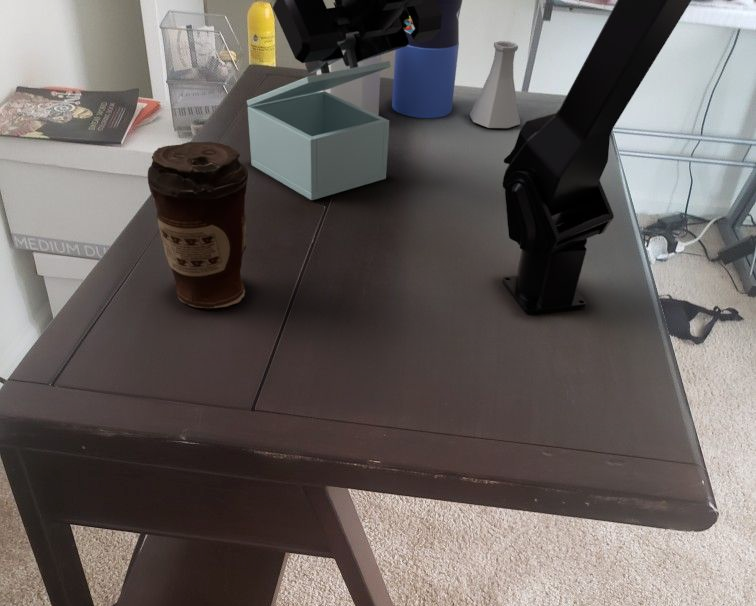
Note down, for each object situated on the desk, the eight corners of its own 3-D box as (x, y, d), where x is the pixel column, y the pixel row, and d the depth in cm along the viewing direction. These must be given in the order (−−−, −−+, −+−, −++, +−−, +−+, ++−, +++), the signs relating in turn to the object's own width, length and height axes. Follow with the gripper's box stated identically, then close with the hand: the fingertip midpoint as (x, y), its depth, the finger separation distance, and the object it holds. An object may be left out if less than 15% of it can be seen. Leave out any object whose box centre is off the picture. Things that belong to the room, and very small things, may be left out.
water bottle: (437, 95, 116) (458, -111, 98) (462, 116, 110) (489, -100, 92) (382, 99, 114) (392, -112, 96) (404, 120, 108) (420, -101, 90)
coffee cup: (237, 325, 67) (223, 180, 58) (151, 311, 68) (124, 166, 59) (266, 279, 74) (258, 141, 64) (187, 267, 74) (167, 129, 65)
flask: (460, 115, 110) (470, 38, 103) (502, 111, 113) (514, 35, 106) (485, 132, 106) (497, 53, 99) (528, 127, 108) (542, 49, 101)
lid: (391, 66, 84) (383, 26, 82) (308, 83, 78) (298, 39, 76) (325, 90, 94) (316, 54, 92) (247, 106, 88) (237, 68, 87)
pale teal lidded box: (386, 178, 92) (389, 120, 88) (311, 200, 87) (310, 139, 82) (324, 146, 99) (324, 90, 94) (251, 165, 93) (247, 106, 88)
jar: (309, 108, 109) (307, 12, 101) (358, 102, 112) (361, 9, 104) (335, 129, 104) (336, 29, 95) (386, 122, 107) (392, 25, 98)
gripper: (434, -126, 73) (360, -14, 87) (279, -120, 64) (223, 3, 78) (480, -14, 75) (400, 79, 88) (334, 6, 66) (270, 106, 79)
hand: (327, 65), depth 83 cm, fingers closed on lid, 5 cm apart
